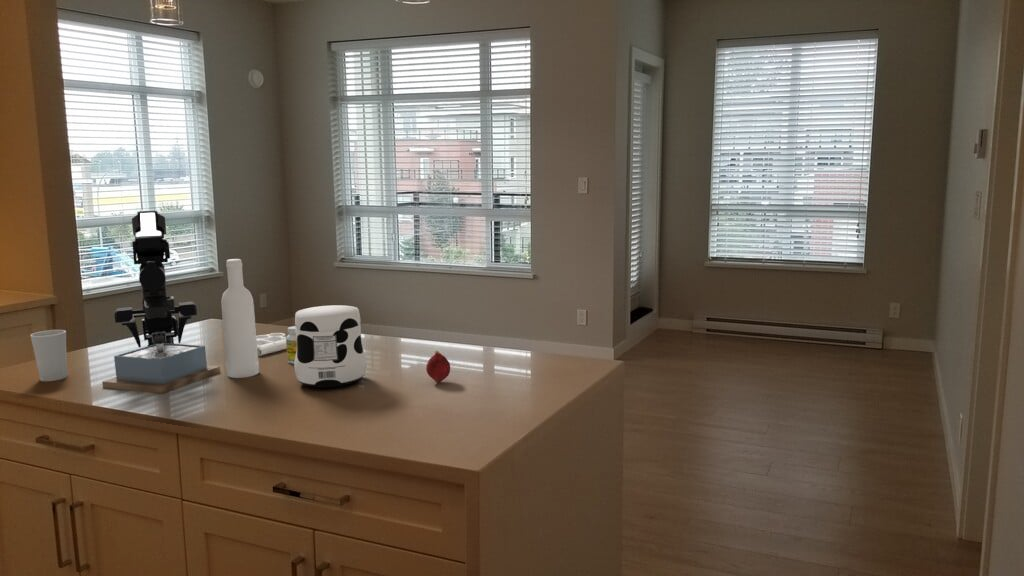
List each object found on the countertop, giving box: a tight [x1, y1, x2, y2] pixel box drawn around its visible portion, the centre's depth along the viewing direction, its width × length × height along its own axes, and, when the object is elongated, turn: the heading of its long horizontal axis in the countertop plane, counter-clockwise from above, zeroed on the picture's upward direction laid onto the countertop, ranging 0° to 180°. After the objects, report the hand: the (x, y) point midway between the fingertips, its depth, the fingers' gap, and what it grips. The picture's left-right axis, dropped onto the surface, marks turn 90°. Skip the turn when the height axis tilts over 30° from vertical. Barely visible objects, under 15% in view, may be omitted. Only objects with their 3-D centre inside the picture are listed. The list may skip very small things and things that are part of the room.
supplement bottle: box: [285, 325, 297, 365], centre depth 216 cm, size 5×5×10 cm
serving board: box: [101, 364, 221, 394], centre depth 201 cm, size 20×19×2 cm
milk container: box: [293, 304, 367, 388], centre depth 194 cm, size 17×17×18 cm
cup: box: [30, 329, 69, 382], centre depth 205 cm, size 8×8×12 cm
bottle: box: [220, 258, 260, 379], centre depth 202 cm, size 8×8×30 cm
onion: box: [425, 350, 451, 384], centre depth 192 cm, size 6×6×8 cm
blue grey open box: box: [113, 343, 208, 384], centre depth 201 cm, size 15×17×6 cm
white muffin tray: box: [256, 332, 287, 357], centre depth 231 cm, size 3×18×15 cm
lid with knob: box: [123, 332, 198, 359], centre depth 200 cm, size 13×13×6 cm
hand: (159, 345), depth 200 cm, fingers open, 9 cm apart
